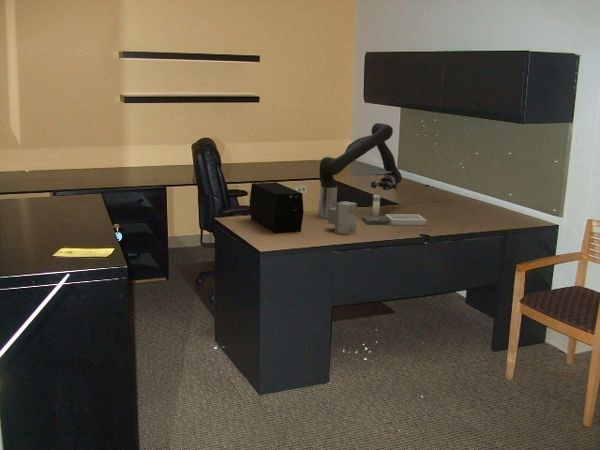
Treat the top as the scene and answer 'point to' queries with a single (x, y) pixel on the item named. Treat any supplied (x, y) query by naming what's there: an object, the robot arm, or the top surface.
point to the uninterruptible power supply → (276, 207)
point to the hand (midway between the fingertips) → (381, 187)
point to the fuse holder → (369, 220)
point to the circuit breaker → (343, 217)
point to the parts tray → (405, 219)
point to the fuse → (376, 207)
